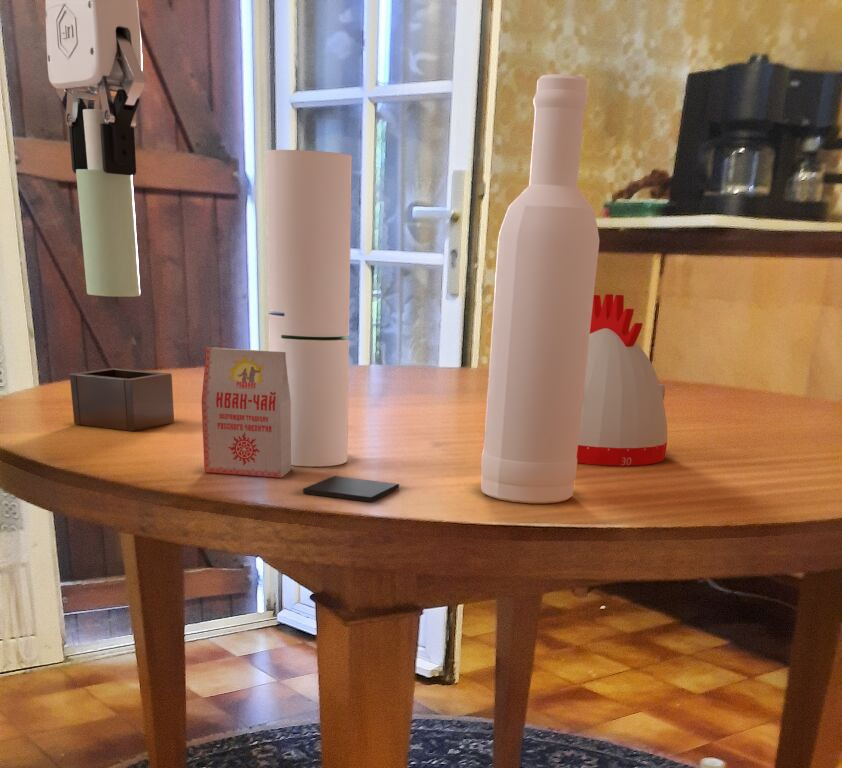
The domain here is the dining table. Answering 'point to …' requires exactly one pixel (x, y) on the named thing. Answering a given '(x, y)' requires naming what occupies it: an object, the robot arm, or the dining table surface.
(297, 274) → the cylindrical container
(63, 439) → the dining table surface
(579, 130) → the bottle
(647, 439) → the kitchen timer
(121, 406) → the box
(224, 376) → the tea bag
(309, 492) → the coaster
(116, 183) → the bottle
